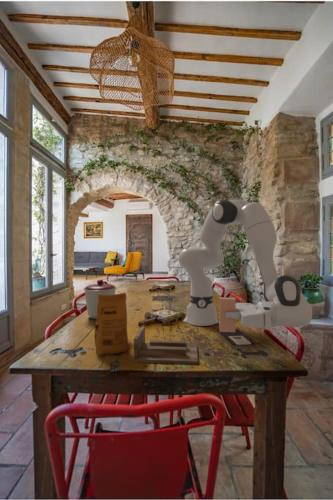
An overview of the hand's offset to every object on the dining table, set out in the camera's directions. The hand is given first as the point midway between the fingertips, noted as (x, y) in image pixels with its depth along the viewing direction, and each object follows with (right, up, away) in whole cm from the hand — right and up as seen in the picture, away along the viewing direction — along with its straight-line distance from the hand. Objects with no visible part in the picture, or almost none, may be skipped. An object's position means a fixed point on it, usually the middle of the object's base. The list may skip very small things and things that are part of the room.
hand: (224, 312), depth 101 cm
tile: (+1, -7, 0) cm, 7 cm away
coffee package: (-43, -16, +6) cm, 46 cm away
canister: (-58, -15, +55) cm, 82 cm away
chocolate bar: (+9, -16, +21) cm, 28 cm away
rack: (-21, -16, +2) cm, 26 cm away
